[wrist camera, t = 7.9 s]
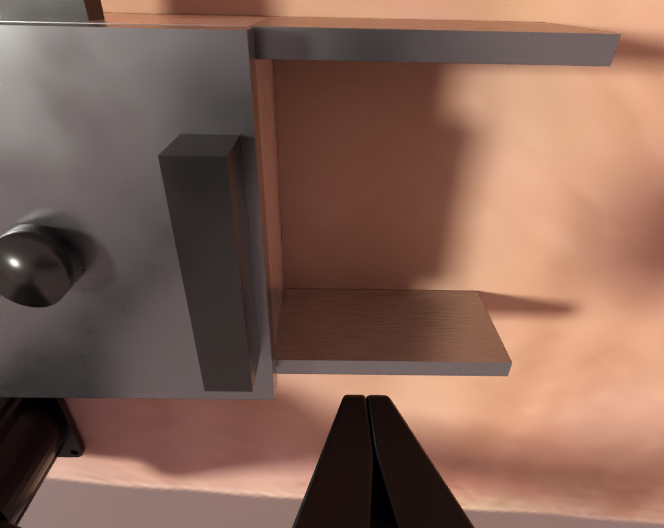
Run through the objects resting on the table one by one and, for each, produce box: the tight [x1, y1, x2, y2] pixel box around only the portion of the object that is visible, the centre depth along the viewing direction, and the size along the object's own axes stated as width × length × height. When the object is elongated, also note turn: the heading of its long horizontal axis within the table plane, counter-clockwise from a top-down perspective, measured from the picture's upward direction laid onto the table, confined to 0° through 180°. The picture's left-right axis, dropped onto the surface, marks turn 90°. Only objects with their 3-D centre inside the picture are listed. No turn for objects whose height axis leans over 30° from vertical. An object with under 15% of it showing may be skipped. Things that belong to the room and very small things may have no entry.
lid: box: [0, 22, 277, 400], centre depth 13 cm, size 13×12×3 cm
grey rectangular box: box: [0, 0, 621, 376], centre depth 17 cm, size 17×22×5 cm
